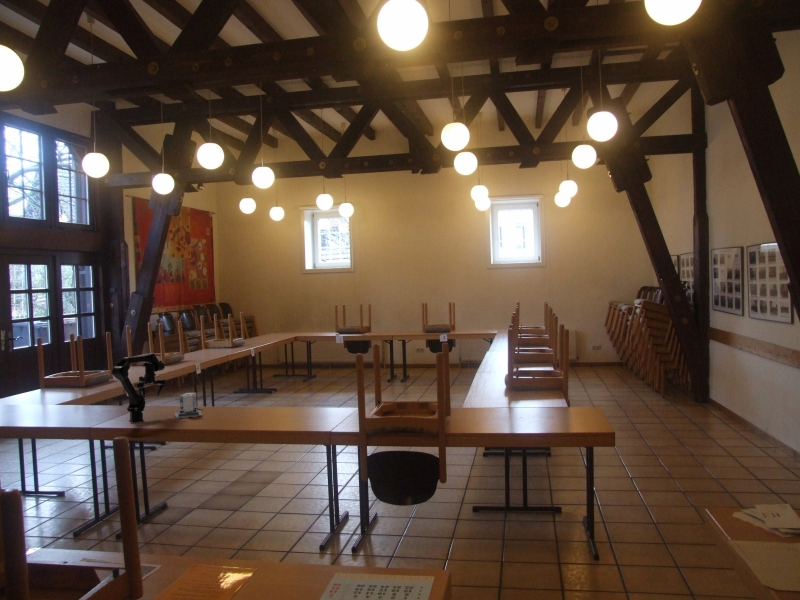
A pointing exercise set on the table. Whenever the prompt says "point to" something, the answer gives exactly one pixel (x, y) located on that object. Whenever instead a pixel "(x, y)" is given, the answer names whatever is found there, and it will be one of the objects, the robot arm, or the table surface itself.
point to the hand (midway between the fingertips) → (150, 396)
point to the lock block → (187, 403)
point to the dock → (188, 414)
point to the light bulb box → (192, 400)
